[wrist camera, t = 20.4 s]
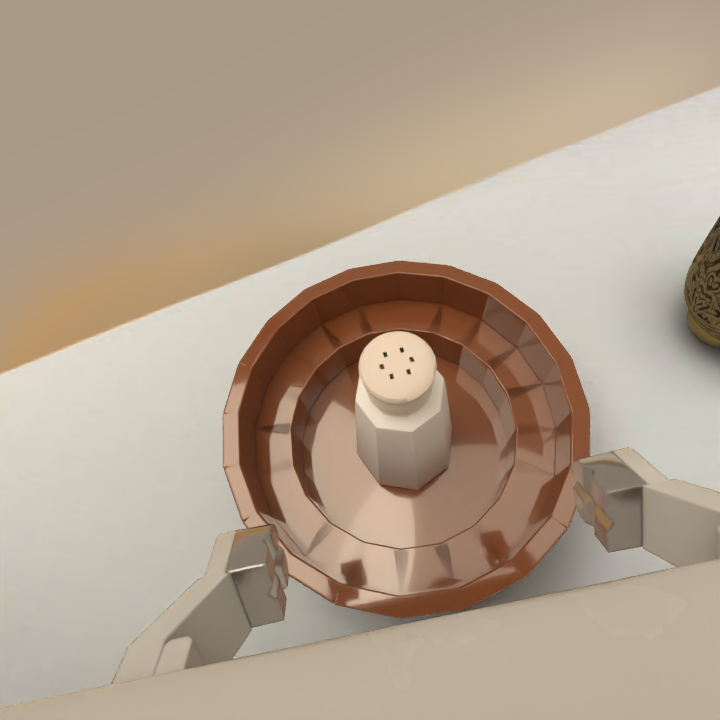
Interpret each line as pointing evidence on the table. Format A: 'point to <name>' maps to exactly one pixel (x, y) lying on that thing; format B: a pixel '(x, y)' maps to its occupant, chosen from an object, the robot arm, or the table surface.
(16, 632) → the table surface
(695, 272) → the cup
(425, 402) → the salt shaker
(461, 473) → the bowl
